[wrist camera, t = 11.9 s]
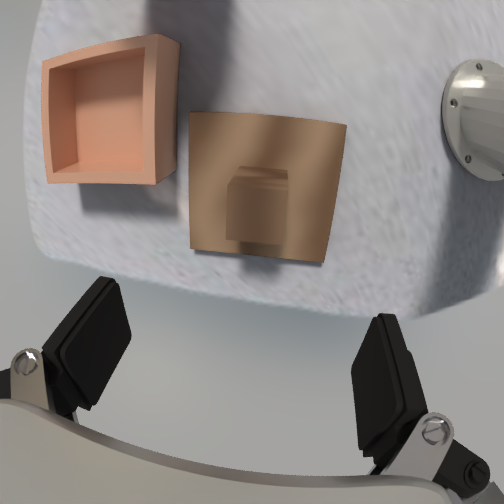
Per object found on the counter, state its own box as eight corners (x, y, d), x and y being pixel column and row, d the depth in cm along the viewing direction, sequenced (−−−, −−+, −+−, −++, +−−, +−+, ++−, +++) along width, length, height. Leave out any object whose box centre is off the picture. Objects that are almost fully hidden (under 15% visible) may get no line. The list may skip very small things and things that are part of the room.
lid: (345, 124, 22) (366, 133, 16) (323, 258, 29) (331, 301, 23) (192, 111, 23) (162, 117, 17) (192, 245, 29) (170, 283, 24)
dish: (180, 43, 20) (158, 33, 16) (176, 169, 26) (155, 184, 22) (74, 61, 21) (42, 61, 17) (76, 169, 27) (47, 183, 22)
